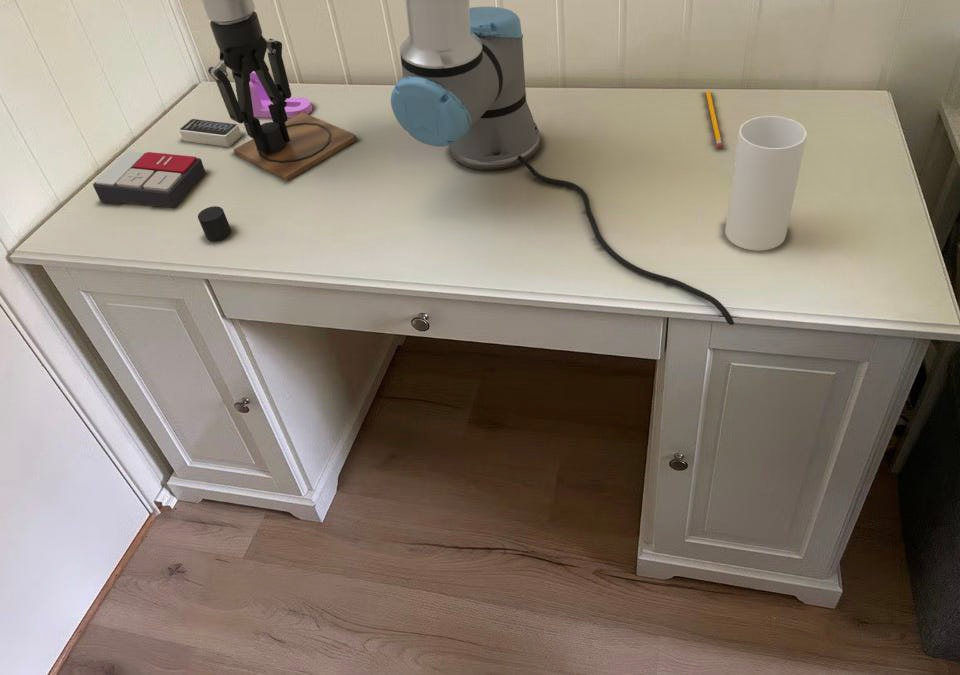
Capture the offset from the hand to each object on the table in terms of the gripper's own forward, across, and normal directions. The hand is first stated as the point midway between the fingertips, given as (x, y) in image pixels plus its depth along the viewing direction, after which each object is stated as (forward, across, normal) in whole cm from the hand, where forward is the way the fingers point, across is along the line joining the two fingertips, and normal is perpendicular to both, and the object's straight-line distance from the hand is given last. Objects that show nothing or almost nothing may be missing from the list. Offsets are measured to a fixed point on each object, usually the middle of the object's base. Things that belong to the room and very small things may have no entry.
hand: (273, 145), depth 141 cm
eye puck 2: (+1, 0, 0) cm, 1 cm away
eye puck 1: (+1, +21, +13) cm, 24 cm away
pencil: (+1, -50, +59) cm, 77 cm away
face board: (+1, -3, +2) cm, 4 cm away
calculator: (+2, +20, -9) cm, 22 cm away
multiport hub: (+2, +4, -15) cm, 16 cm away
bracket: (+2, -10, -12) cm, 16 cm away
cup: (+1, -26, +80) cm, 84 cm away
